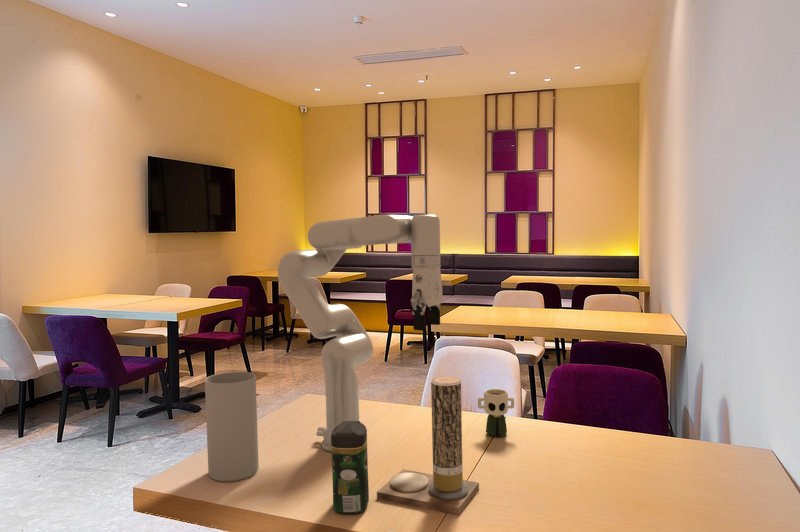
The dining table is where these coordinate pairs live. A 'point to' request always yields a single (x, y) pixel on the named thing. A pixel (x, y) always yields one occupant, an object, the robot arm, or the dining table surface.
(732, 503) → the dining table surface
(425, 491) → the board
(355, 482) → the coffee jar
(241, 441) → the cylinder vase
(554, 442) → the dining table surface
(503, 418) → the character mug
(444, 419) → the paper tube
